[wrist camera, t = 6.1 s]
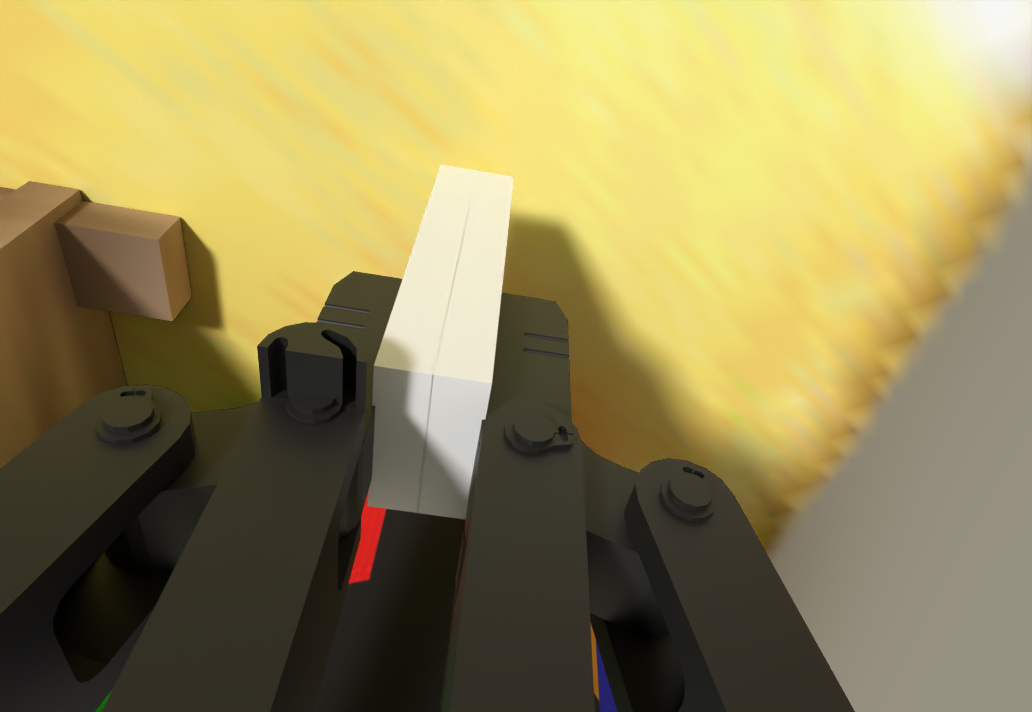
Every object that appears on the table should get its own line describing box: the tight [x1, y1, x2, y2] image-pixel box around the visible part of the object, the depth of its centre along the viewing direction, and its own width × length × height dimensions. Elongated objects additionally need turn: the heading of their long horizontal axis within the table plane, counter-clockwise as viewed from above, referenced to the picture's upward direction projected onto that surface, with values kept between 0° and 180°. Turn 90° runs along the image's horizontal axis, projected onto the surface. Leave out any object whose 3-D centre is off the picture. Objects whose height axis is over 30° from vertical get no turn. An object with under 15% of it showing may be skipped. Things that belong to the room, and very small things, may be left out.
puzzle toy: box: [95, 494, 617, 712], centre depth 20 cm, size 10×10×10 cm
